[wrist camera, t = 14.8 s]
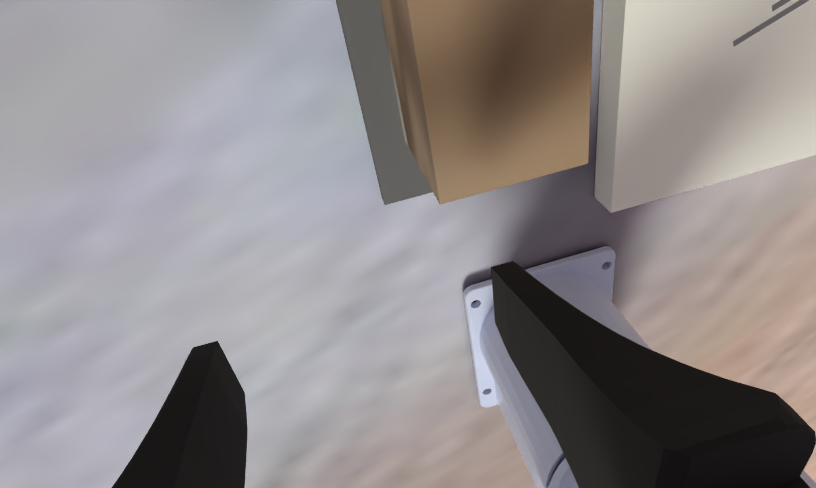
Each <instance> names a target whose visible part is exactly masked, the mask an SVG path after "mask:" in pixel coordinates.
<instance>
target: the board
mask: <svg viewBox="0 0 816 488" xmlns="http://www.w3.org/2000/svg"><path fill="white" fill-rule="evenodd" d="M814 155H816V0H603V19H602V41H601V63H600V85H599V106H598V128H597V150H596V172H595V194H594V197H595V198H596V199H597V200H598V201H599V202H600V203H601V204H602V205H603V206H604V207H605V208H606V209H607V210H608V211H609V212H611V213H613V212H617V211H620V210H624V209H627V208H631V207H634V206H638V205H641V204H645V203H648V202H652V201H655V200H659V199H662V198H666V197H669V196H673V195H676V194H680V193H683V192H687V191H690V190H694V189H698V188H701V187H705V186H708V185H712V184H715V183H719V182H722V181H726V180H729V179H733V178H736V177H740V176H743V175H747V174H750V173H754V172H757V171H761V170H764V169H768V168H771V167H775V166H778V165H782V164H785V163H789V162H793V161H796V160H800V159H803V158H807V157H810V156H814Z"/></svg>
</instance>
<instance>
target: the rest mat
mask: <svg viewBox="0 0 816 488" xmlns="http://www.w3.org/2000/svg"><path fill="white" fill-rule="evenodd" d="M336 3H337V7H338V12H339V16H340V20H341V24H342V29H343V33H344V37H345V42H346V46H347V50H348V54H349V59H350V63H351V67H352V71H353V76H354V80H355V84H356V88H357V93H358V97H359V101H360V106H361V110H362V114H363V118H364V123H365V127H366V131H367V135H368V140H369V144H370V148H371V152H372V157H373V161H374V165H375V170H376V174H377V178H378V182H379V187H380V191H381V195H382V199H383V201H384V204H385V205H387V204H390V203H394V202H398V201H401V200H405V199H409V198H412V197H416V196H420V195H423V194H427V193H431V192H433V191H432V189H431V187H430V185H429V184H428V182H427V180H426V178H425V176H424V174H423V173H422V171H421V169H420V167H419V165H418V163H417V162H416V160H415V158H414V156H413V154H412V153H411V151H410V149H409V147H408V145H407V143H406V142H405V139H404V134H403V128H402V123H401V118H400V113H399V108H398V102H397V97H396V92H395V87H394V82H393V76H392V71H391V66H390V61H389V56H388V50H387V45H386V40H385V35H384V30H383V24H382V19H381V14H380V9H379V4H378V0H336Z"/></svg>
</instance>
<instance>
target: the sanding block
mask: <svg viewBox="0 0 816 488" xmlns="http://www.w3.org/2000/svg"><path fill="white" fill-rule="evenodd" d="M378 4H379V9H380V14H381V19H382V24H383V30H384V35H385V40H386V45H387V50H388V56H389V61H390V66H391V71H392V76H393V82H394V87H395V92H396V97H397V102H398V108H399V113H400V118H401V123H402V128H403V134H404V139H405V142H406V143H407V145H408V147H409V149H410V151H411V153H412V154H413V156H414V158H415V160H416V162H417V163H418V165H419V167H420V169H421V171H422V173H423V174H424V176H425V178H426V180H427V182H428V184H429V185H430V187H431V189H432V191H433V193H434V194H435V196H436V198H437V200H438V202H439V204H444V203H447V202H451V201H454V200H458V199H462V198H465V197H469V196H473V195H476V194H480V193H483V192H487V191H491V190H494V189H498V188H501V187H505V186H509V185H512V184H516V183H520V182H523V181H527V180H530V179H534V178H538V177H541V176H545V175H548V174H552V173H556V172H559V171H563V170H567V169H570V168H574V167H577V166H581V165H585V164H588V153H589V123H590V94H591V64H592V34H593V5H594V0H378Z"/></svg>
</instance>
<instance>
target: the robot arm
mask: <svg viewBox="0 0 816 488" xmlns="http://www.w3.org/2000/svg"><path fill="white" fill-rule="evenodd" d="M615 257H616V254H615V252H614V251H613V250H612V248H611V247H608V246H605V247H601V248H598V249H594V250H591V251H587V252H584V253H580V254H577V255H573V256H570V257H566V258H563V259H560V260H556V261H553V262H549V263H546V264H542V265H539V266H535V267H532V268H528V269H525V270H524V269H523V268H522V267H520V266H519V265H518V264H516V263H515V262H513V261H512V262H508V263H505V264H501V265H497V266H494V267H491V274H492V279H490V280H487V281H484V282H480V283H477V284H473V285H470V286H468V287H467V288H466V289H465V290H464V292H463V298H464V305H465V312H466V318H467V325H468V332H469V339H470V346H471V353H472V359H473V366H474V373H475V380H476V387H477V394H478V400H479V403H480V405H481V406H482V407H491V406H494V405H497V404H498V405H499V407H500V409H501V411H502V414H503V416H504V418H505V420H506V422H507V425H508V427H509V429H510V431H511V433H512V436H513V438H514V440H515V442H516V445H517V447H518V449H519V451H520V453H521V456H522V458H523V460H524V462H525V464H526V467H527V469H528V471H529V473H530V475H531V478H532V480H533V482H534V484H535V486H536V488H816V483H815V482H814V481H813V480H812V479H811V477H810V476H809V475H808V474H807V473H806V472H805V471H804V470H803V469H804V468H805V466H806V464H807V462H808V460H809V458H810V456H811V454H812V453H813V450H814V447H815V444H816V436H815V431H814V430H813V429H812V428H811V427H810V426H809V425H808V424H807V423H806V422H805V421H804V420H803V419H802V418H801V417H800V416H799V415H798V414H797V413H796V412H795V411H794V410H793V409H792V408H791V407H790V406H789V405H788V404H787V403H786V402H785V401H784V400H782V399H781V398H780V397H779V396H778V395H777V394H776V393H773V392H769V391H766V390H762V389H759V388H755V387H752V386H748V385H745V384H741V383H738V382H734V381H731V380H728V379H725V378H722V377H719V376H716V375H713V374H710V373H707V372H704V371H702V370H699V369H696V368H693V367H691V366H688V365H685V364H683V363H680V362H678V361H676V360H673V359H671V358H669V357H666V356H664V355H662V354H659V353H657V352H654V351H652V350H651V349H650V348H649V347H648V346H647V344H646V343H645V342H644V341H643V340H642V338H641V337H640V336H639V335H638V333H637V332H636V331H635V330H634V329H633V327H632V326H631V325H630V324H629V322H628V321H627V320H626V319H625V318H624V316H623V315H622V314H621V313H620V312H619V310H618V309H617V308H616V307H615V305H614V304H613V303H612V294H613V282H614V269H615ZM605 262H606V263H605ZM604 263H605V264H604ZM603 264H604V265H603ZM475 300H477V301H476V302H475V303H472V302H473V301H475ZM246 450H247V416H246V404H245V393H244V391H243V389H242V387H241V385H240V383H239V381H238V379H237V377H236V375H235V373H234V372H233V370H232V368H231V366H230V364H229V362H228V360H227V358H226V356H225V354H224V352H223V350H222V348H221V347H220V345H219V343H218V341H216V342H212V343H208V344H204V345H201V346H197V347H193V349H192V350H191V352H190V354H189V356H188V358H187V360H186V362H185V364H184V366H183V368H182V370H181V372H180V374H179V376H178V378H177V380H176V381H175V383H174V385H173V387H172V389H171V391H170V393H169V395H168V397H167V399H166V401H165V402H164V404H163V406H162V408H161V410H160V412H159V413H158V415H157V417H156V419H155V421H154V422H153V424H152V426H151V428H150V429H149V431H148V433H147V434H146V436H145V438H144V439H143V441H142V442H141V444H140V446H139V447H138V449H137V451H136V452H135V454H134V456H133V457H132V459H131V460H130V462H129V463H128V465H127V466H126V468H125V469H124V471H123V472H122V474H121V475H120V477H119V478H118V480H117V481H116V482H115V484H114V485H113V487H112V488H244V486H245V468H246Z"/></svg>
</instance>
